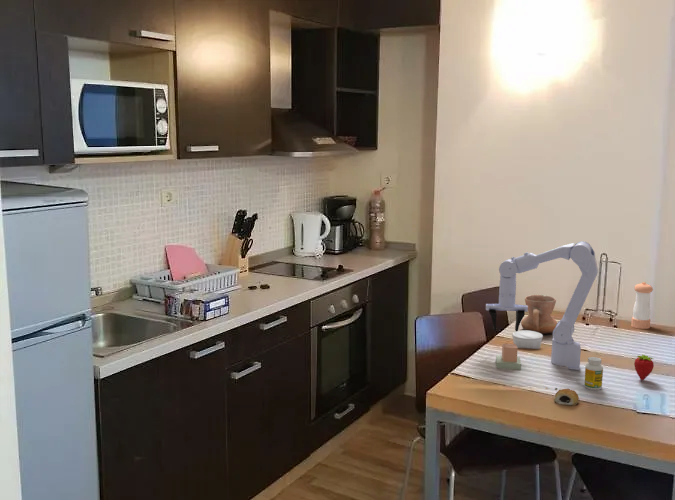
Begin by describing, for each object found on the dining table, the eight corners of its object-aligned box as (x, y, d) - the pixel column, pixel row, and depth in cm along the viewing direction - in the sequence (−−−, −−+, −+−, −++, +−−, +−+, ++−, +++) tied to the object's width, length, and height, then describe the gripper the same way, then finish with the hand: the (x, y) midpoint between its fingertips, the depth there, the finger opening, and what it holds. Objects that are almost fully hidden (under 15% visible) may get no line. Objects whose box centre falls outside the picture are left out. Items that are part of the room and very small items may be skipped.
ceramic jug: (526, 323, 297) (528, 291, 294) (561, 328, 289) (563, 295, 287) (515, 335, 281) (516, 301, 279) (551, 340, 274) (553, 305, 271)
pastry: (558, 393, 219) (559, 382, 218) (581, 397, 216) (582, 385, 215) (553, 403, 210) (554, 391, 210) (576, 408, 207) (577, 396, 207)
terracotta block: (514, 357, 242) (515, 343, 242) (516, 361, 238) (517, 347, 237) (501, 357, 243) (502, 343, 242) (503, 361, 239) (504, 347, 238)
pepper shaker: (629, 323, 298) (632, 280, 294) (646, 324, 297) (650, 280, 293) (633, 328, 290) (637, 283, 287) (652, 329, 290) (655, 284, 286)
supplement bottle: (591, 383, 227) (593, 355, 226) (605, 388, 223) (607, 359, 221) (580, 386, 224) (582, 357, 223) (594, 391, 220) (596, 362, 218)
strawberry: (651, 377, 233) (653, 348, 231) (653, 385, 226) (656, 355, 224) (632, 375, 235) (634, 346, 233) (633, 382, 228) (636, 353, 226)
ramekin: (509, 350, 261) (510, 336, 260) (513, 341, 272) (514, 328, 271) (540, 353, 257) (541, 340, 256) (543, 345, 268) (544, 332, 267)
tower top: (519, 362, 244) (519, 356, 244) (520, 369, 236) (521, 364, 236) (496, 360, 245) (496, 355, 245) (496, 368, 238) (497, 362, 237)
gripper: (487, 295, 245) (486, 332, 247) (529, 296, 243) (527, 334, 245) (485, 290, 252) (484, 327, 254) (526, 292, 250) (525, 328, 252)
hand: (505, 330), depth 250 cm, fingers open, 7 cm apart
